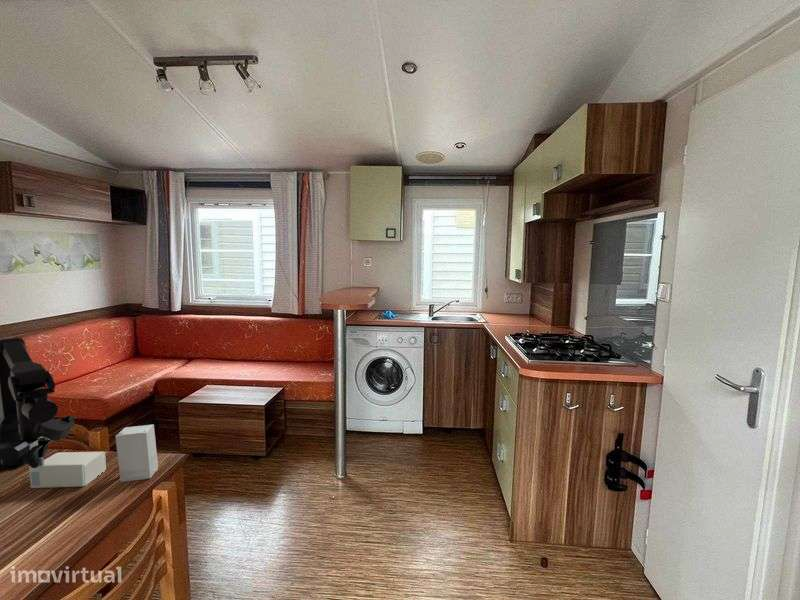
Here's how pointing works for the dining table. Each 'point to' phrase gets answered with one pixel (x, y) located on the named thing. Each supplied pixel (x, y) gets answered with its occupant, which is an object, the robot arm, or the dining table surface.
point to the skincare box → (136, 453)
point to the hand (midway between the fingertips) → (36, 466)
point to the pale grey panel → (56, 475)
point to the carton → (81, 462)
